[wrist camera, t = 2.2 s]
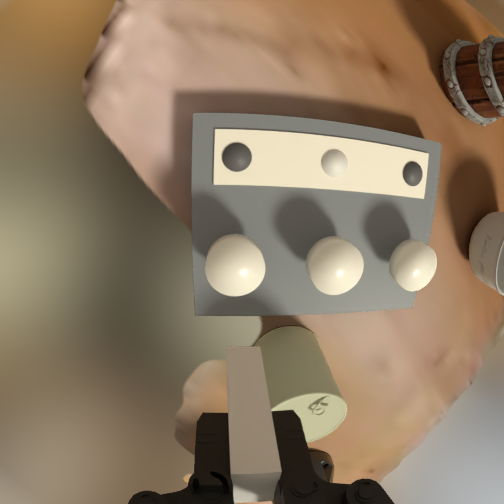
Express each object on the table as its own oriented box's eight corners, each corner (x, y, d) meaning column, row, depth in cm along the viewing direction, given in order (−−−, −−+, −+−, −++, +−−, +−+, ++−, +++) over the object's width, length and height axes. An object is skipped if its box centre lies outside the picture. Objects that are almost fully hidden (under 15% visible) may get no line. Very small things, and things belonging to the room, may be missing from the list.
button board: (401, 296, 36) (413, 308, 33) (197, 301, 33) (194, 316, 30) (426, 142, 29) (443, 143, 26) (196, 116, 27) (192, 112, 24)
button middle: (350, 284, 29) (358, 294, 27) (302, 285, 28) (308, 295, 26) (358, 236, 27) (367, 243, 25) (308, 235, 26) (314, 242, 25)
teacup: (454, 224, 33) (494, 243, 25) (498, 193, 32) (536, 205, 24) (464, 301, 38) (495, 326, 30) (505, 267, 37) (535, 287, 29)
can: (333, 338, 37) (366, 403, 26) (296, 385, 39) (315, 452, 28) (272, 315, 35) (291, 387, 24) (238, 368, 37) (243, 441, 26)
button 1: (420, 282, 29) (430, 290, 28) (384, 283, 29) (393, 292, 27) (430, 239, 28) (441, 245, 26) (393, 238, 27) (403, 244, 25)
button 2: (261, 286, 28) (263, 296, 26) (207, 285, 27) (205, 295, 26) (264, 234, 26) (267, 241, 24) (206, 233, 26) (204, 240, 24)
